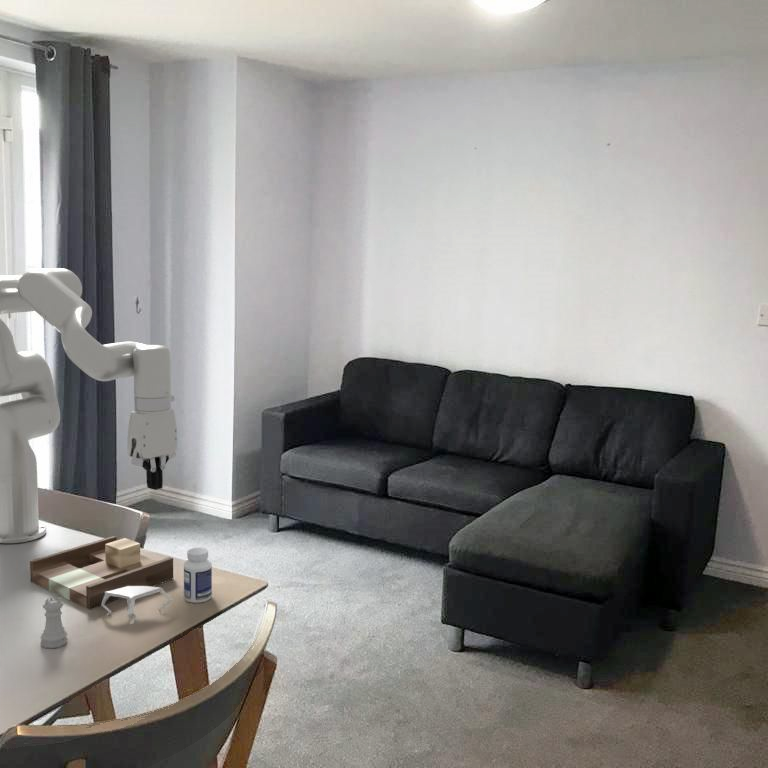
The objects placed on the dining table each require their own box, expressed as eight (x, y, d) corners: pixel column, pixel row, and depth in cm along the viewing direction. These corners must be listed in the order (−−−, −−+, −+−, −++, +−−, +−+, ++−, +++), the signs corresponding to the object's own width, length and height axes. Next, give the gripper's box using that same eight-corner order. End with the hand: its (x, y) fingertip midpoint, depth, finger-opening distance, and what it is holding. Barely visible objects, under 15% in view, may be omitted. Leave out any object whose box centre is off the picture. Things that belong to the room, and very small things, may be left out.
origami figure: (111, 631, 155) (111, 605, 154) (100, 613, 162) (99, 588, 161) (176, 617, 161) (176, 593, 161) (163, 601, 168) (163, 577, 168)
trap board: (30, 581, 175) (30, 560, 174) (113, 555, 191) (113, 535, 190) (89, 609, 163) (89, 587, 162) (173, 578, 179) (173, 558, 178)
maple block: (105, 562, 180) (105, 544, 179) (125, 555, 184) (125, 537, 183) (120, 568, 177) (120, 549, 176) (140, 561, 181) (140, 543, 180)
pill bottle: (215, 593, 173) (215, 547, 171) (207, 604, 167) (207, 556, 166) (189, 591, 173) (188, 545, 172) (180, 602, 168) (179, 554, 166)
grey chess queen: (40, 651, 147) (39, 607, 145) (39, 639, 151) (38, 596, 149) (68, 647, 148) (67, 603, 147) (66, 636, 153) (65, 593, 151)
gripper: (169, 397, 189) (171, 477, 192) (111, 406, 178) (114, 492, 181) (192, 401, 185) (193, 483, 188) (134, 411, 173) (137, 499, 176)
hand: (154, 487), depth 184 cm, fingers closed
